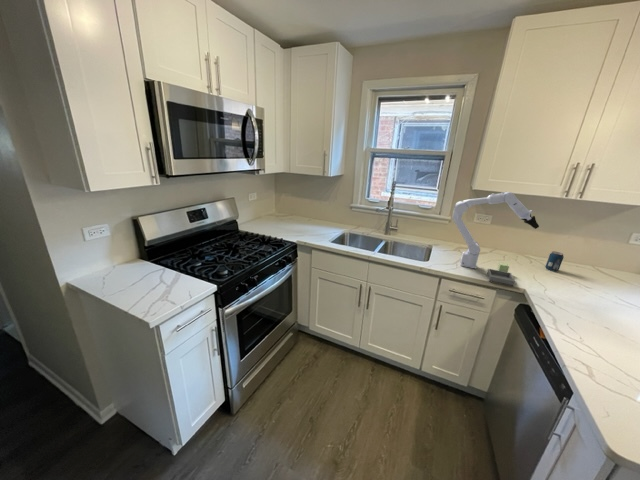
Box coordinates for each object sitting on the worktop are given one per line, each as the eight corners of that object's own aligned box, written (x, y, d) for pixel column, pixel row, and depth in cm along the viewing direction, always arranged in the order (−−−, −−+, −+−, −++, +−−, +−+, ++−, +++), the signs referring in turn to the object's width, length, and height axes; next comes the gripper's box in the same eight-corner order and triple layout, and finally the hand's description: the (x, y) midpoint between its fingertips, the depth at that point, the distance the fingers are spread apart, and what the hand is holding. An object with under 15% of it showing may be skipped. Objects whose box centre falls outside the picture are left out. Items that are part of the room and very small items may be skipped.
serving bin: (489, 281, 155) (490, 276, 154) (486, 273, 165) (488, 268, 164) (513, 286, 150) (515, 281, 149) (509, 278, 161) (510, 272, 159)
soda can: (549, 267, 180) (555, 250, 176) (560, 271, 174) (567, 254, 170) (542, 268, 178) (548, 251, 174) (553, 272, 172) (559, 255, 168)
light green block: (497, 273, 166) (500, 264, 164) (496, 270, 170) (499, 262, 168) (506, 275, 164) (509, 266, 162) (505, 272, 168) (507, 263, 166)
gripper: (529, 206, 147) (546, 224, 146) (523, 202, 160) (538, 219, 159) (516, 214, 151) (533, 232, 150) (511, 209, 163) (526, 226, 163)
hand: (535, 226), depth 155 cm, fingers open, 7 cm apart
